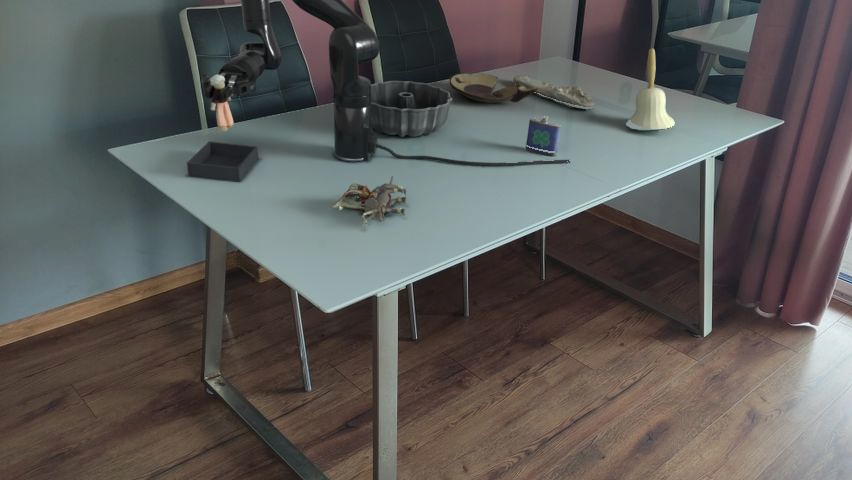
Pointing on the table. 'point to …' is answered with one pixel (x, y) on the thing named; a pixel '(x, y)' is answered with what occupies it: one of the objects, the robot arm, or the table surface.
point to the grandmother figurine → (221, 104)
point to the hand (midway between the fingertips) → (215, 95)
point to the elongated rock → (556, 91)
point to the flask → (543, 136)
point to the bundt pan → (408, 108)
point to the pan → (223, 161)
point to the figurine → (372, 200)
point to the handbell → (651, 102)
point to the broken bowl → (487, 88)
